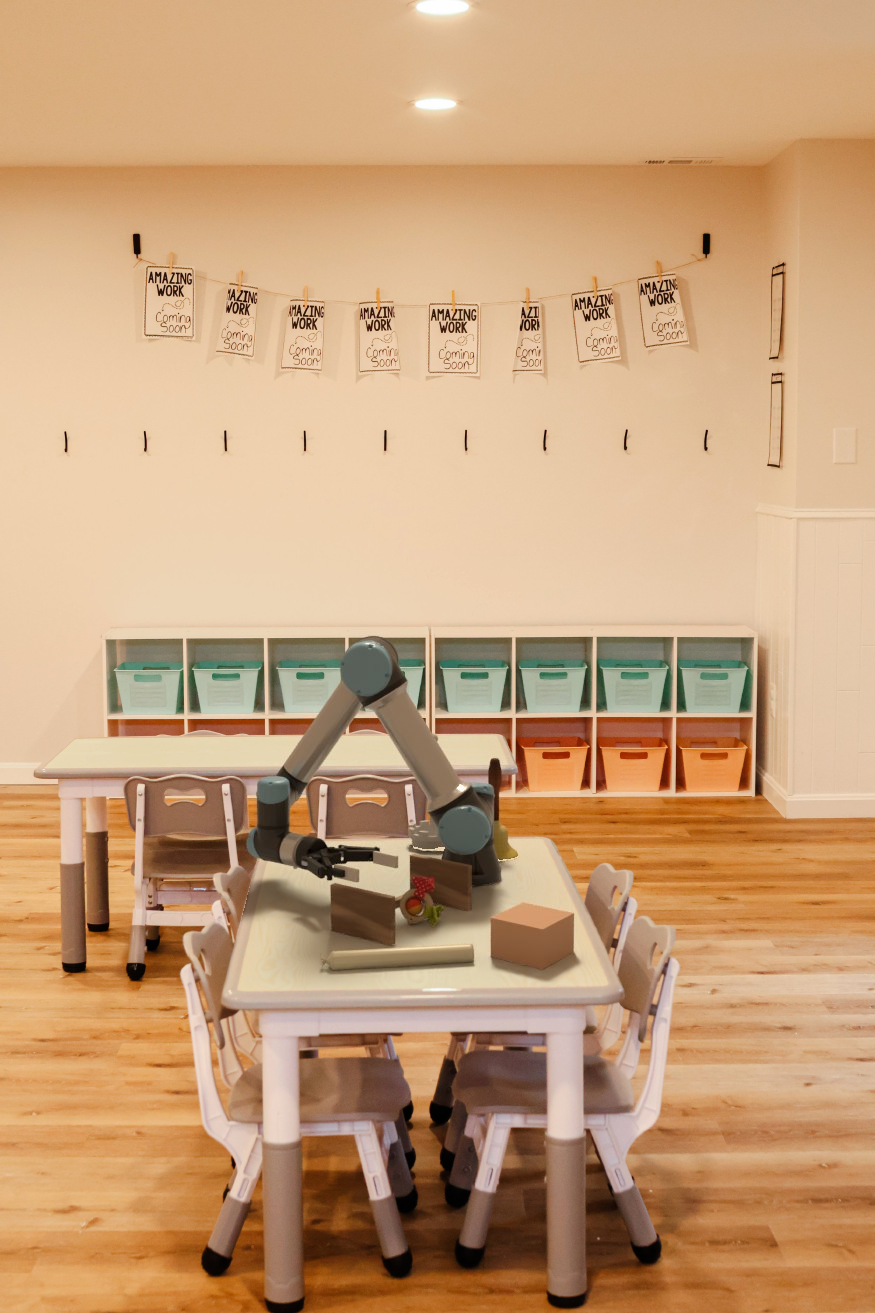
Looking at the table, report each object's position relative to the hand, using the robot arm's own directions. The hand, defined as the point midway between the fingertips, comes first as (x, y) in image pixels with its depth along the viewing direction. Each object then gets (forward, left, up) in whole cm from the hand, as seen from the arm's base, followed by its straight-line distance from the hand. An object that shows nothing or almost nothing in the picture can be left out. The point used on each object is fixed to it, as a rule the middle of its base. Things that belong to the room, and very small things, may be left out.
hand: (378, 869), depth 284 cm
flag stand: (-52, -24, -11) cm, 58 cm away
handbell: (-54, -6, -11) cm, 56 cm away
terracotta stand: (+2, +40, -10) cm, 42 cm away
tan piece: (+22, +22, -11) cm, 33 cm away
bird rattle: (0, +11, -11) cm, 16 cm away
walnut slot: (0, +6, -10) cm, 12 cm away
